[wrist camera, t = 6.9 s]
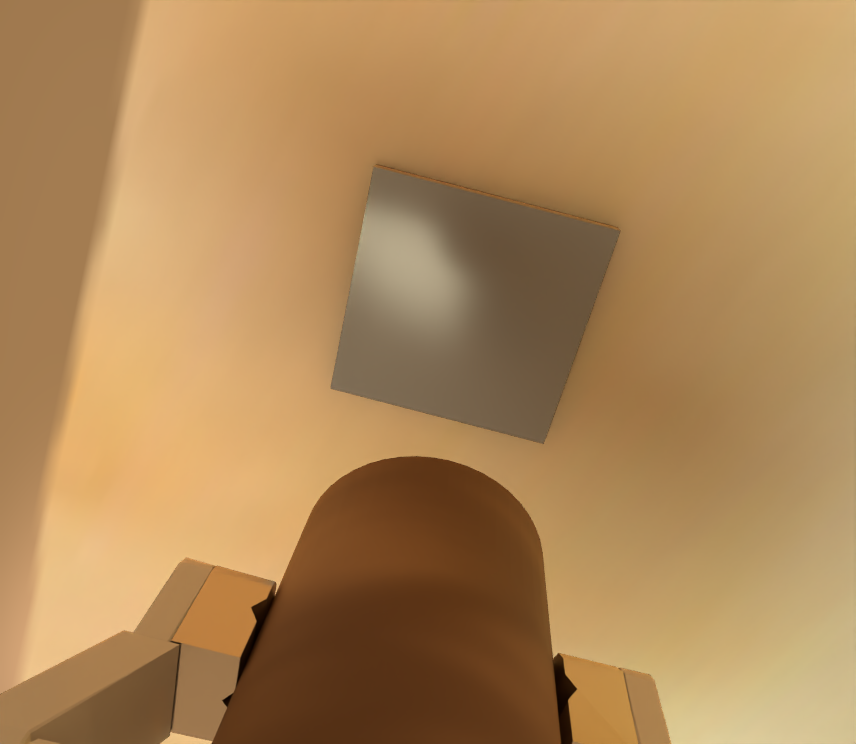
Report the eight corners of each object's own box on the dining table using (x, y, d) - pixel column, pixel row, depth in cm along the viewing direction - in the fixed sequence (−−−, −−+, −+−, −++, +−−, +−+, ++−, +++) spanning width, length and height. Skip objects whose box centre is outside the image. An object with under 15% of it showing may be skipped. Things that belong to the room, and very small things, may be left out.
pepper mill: (576, 493, 12) (681, 1031, 5) (504, 674, 14) (511, 1244, 7) (324, 429, 12) (99, 887, 5) (287, 619, 14) (84, 1140, 7)
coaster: (618, 227, 24) (620, 230, 24) (542, 436, 28) (543, 443, 27) (376, 164, 24) (373, 166, 24) (333, 382, 28) (330, 388, 27)
